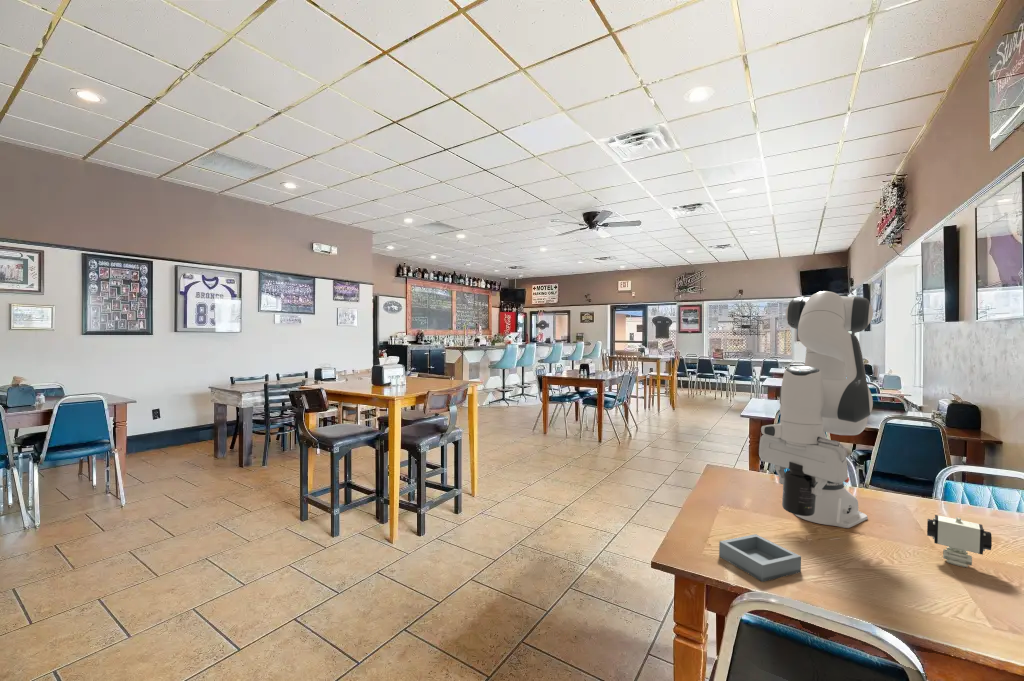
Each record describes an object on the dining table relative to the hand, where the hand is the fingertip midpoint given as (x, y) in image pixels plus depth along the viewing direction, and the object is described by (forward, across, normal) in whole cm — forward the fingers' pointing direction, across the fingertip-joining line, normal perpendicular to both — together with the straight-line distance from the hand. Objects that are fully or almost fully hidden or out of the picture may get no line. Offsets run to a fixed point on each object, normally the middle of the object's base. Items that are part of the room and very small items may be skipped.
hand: (799, 489), depth 110 cm
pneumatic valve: (+21, -11, -45) cm, 51 cm away
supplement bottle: (+6, 0, 0) cm, 6 cm away
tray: (+21, +7, +5) cm, 23 cm away
